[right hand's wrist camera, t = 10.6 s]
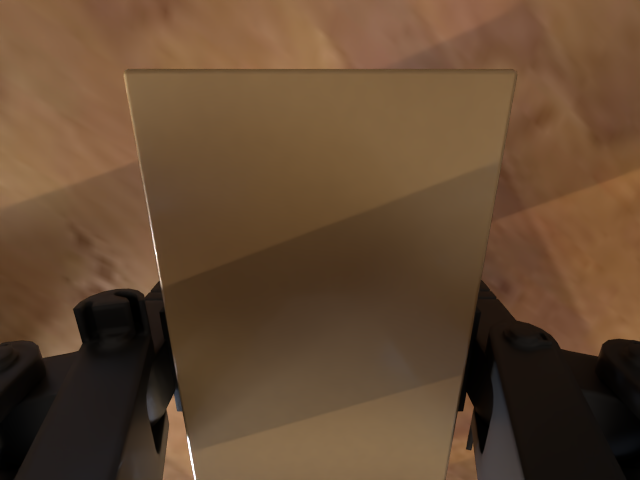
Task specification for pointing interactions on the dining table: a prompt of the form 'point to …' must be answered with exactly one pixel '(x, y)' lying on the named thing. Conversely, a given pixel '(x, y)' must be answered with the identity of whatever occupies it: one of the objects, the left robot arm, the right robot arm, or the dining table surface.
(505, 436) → the right robot arm
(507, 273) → the dining table surface
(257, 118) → the beam
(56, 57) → the dining table surface
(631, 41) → the dining table surface
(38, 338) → the dining table surface
